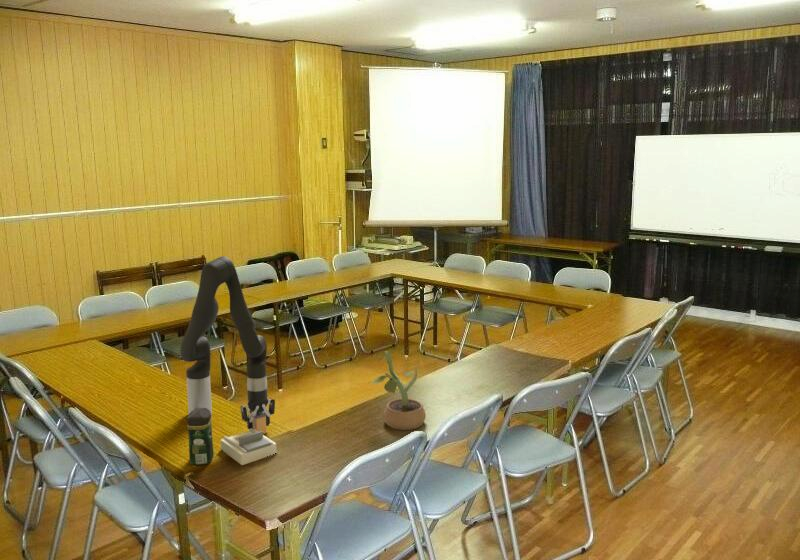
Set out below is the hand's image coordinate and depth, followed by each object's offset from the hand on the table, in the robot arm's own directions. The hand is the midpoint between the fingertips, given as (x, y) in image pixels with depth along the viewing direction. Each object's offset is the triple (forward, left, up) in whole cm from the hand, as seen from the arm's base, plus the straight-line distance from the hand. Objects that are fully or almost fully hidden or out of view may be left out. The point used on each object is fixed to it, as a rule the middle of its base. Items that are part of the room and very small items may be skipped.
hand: (258, 427), depth 266 cm
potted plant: (+27, +48, -2) cm, 55 cm away
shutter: (+17, -11, +2) cm, 20 cm away
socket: (+12, -11, -2) cm, 16 cm away
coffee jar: (+7, -27, -2) cm, 28 cm away
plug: (0, 0, -2) cm, 2 cm away
